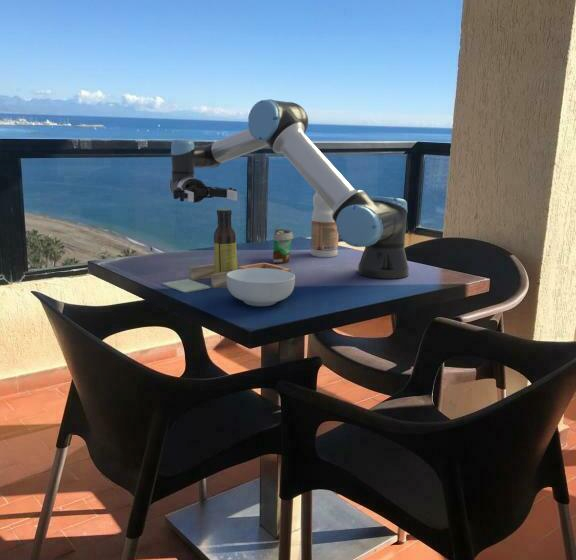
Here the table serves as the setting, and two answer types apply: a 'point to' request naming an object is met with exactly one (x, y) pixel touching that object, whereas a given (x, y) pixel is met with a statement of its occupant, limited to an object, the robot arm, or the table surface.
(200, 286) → the pad
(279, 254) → the food container
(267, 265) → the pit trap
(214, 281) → the trough
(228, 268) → the sauce bottle
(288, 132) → the robot arm
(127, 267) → the table surface
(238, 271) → the cereal bowl
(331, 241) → the fruit juice
